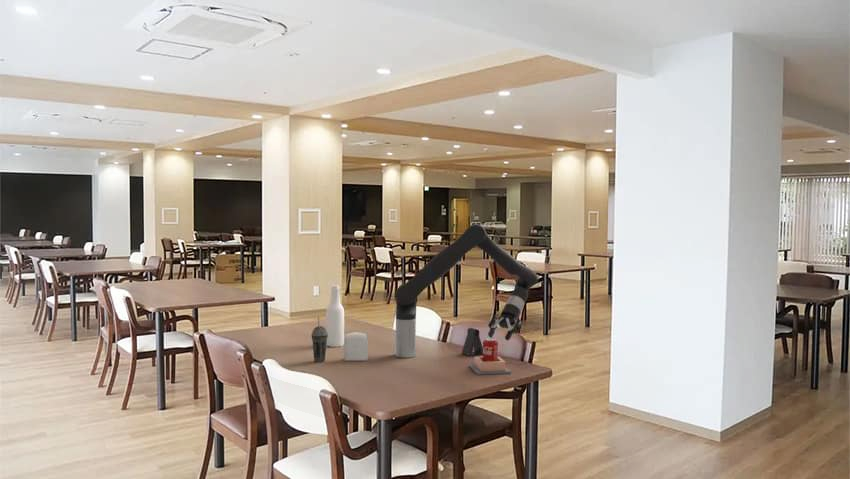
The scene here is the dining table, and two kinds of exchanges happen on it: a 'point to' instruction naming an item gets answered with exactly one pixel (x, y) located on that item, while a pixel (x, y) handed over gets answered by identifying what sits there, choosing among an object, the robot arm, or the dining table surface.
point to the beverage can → (490, 350)
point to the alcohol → (335, 319)
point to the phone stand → (472, 343)
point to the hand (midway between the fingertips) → (498, 337)
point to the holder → (490, 366)
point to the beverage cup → (319, 343)
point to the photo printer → (356, 347)
